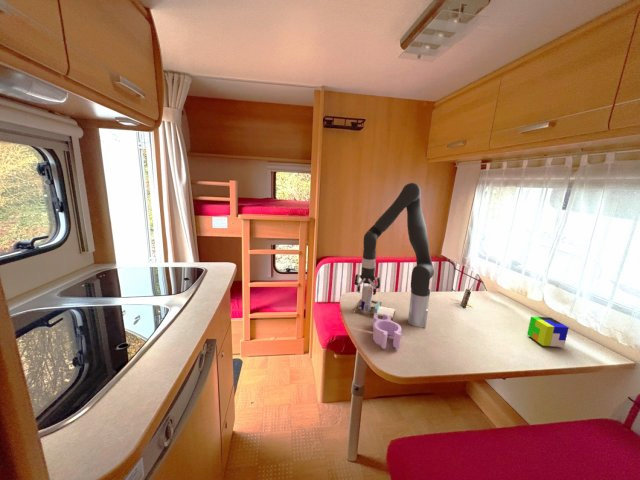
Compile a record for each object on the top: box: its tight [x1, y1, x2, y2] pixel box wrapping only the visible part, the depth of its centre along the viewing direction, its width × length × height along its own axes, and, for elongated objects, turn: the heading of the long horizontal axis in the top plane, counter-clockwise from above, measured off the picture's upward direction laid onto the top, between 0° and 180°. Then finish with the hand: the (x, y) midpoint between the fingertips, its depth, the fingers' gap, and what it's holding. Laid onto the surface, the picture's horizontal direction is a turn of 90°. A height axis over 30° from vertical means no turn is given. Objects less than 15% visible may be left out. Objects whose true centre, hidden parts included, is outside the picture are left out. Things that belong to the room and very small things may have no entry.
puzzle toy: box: [526, 316, 569, 348], centre depth 130 cm, size 10×10×10 cm
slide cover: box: [374, 301, 396, 318], centre depth 149 cm, size 10×10×4 cm
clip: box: [372, 314, 402, 350], centre depth 127 cm, size 20×12×7 cm, turn 3°
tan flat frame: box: [353, 298, 396, 322], centre depth 155 cm, size 22×19×2 cm
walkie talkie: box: [452, 282, 475, 309], centre depth 166 cm, size 13×13×18 cm
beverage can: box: [360, 284, 373, 313], centre depth 152 cm, size 6×6×15 cm
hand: (366, 293), depth 151 cm, fingers open, 8 cm apart
